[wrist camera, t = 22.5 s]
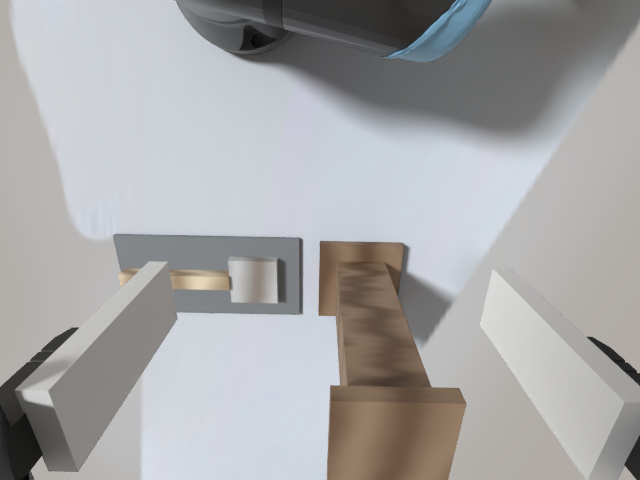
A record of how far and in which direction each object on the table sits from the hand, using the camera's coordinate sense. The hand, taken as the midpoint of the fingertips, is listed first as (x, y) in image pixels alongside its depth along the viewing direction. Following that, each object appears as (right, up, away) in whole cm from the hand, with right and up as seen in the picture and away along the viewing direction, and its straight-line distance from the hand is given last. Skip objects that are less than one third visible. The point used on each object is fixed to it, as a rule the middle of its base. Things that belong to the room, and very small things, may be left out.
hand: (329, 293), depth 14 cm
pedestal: (+5, -4, +39) cm, 40 cm away
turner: (-18, -3, +38) cm, 43 cm away
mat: (-17, -3, +39) cm, 43 cm away
